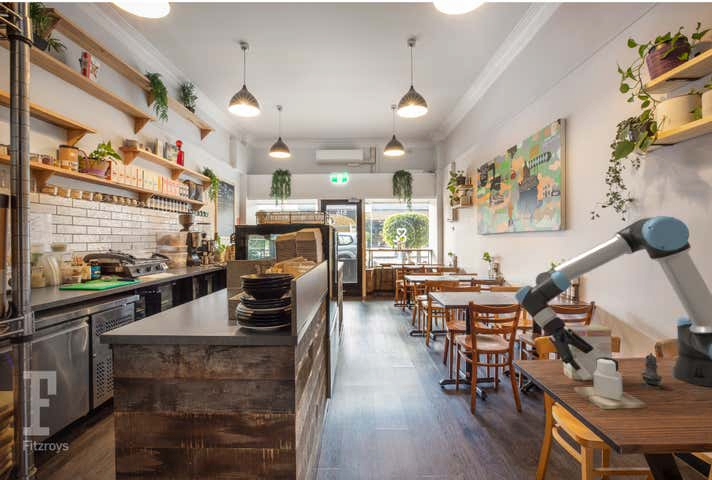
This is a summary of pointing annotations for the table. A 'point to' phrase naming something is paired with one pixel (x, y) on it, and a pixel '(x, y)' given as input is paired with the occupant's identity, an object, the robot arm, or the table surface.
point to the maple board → (608, 403)
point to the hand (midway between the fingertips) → (595, 373)
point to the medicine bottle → (607, 379)
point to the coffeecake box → (597, 339)
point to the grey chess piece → (651, 373)
